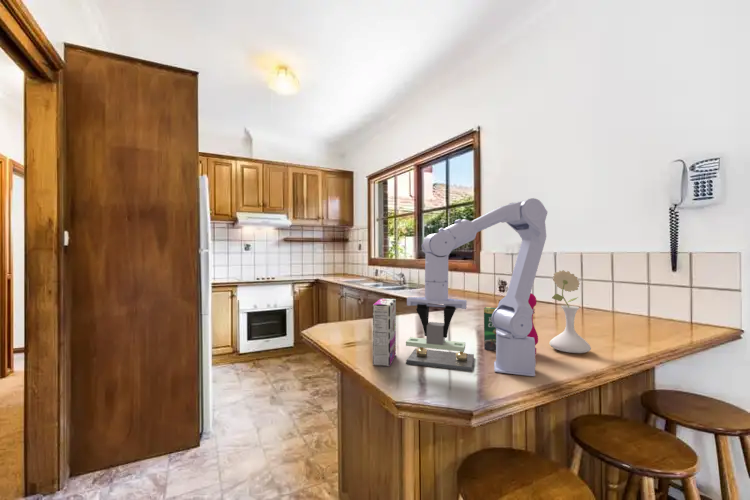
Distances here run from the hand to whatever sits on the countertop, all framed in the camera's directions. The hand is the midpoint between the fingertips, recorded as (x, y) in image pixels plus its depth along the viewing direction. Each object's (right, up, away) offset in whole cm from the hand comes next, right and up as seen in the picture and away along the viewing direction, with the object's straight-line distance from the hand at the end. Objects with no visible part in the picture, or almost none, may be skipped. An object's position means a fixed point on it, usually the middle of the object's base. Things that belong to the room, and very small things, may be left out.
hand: (435, 336), depth 87 cm
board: (0, -3, 0) cm, 3 cm away
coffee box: (+23, -10, +22) cm, 33 cm away
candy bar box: (-13, -9, +10) cm, 19 cm away
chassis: (+3, -9, +11) cm, 14 cm away
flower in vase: (+45, -10, +23) cm, 52 cm away
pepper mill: (+30, -10, +19) cm, 37 cm away
